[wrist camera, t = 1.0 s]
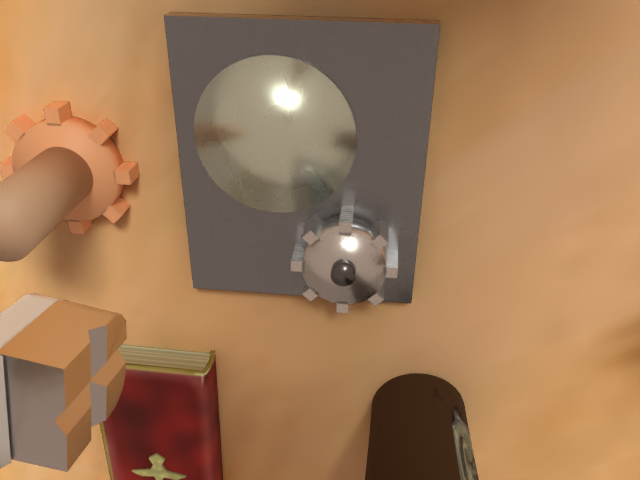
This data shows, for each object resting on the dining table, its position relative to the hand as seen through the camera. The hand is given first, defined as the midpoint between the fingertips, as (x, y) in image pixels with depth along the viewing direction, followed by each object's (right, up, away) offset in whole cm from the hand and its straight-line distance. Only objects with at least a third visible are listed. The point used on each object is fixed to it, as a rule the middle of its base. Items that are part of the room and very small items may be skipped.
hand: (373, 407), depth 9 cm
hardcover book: (-18, -17, +59) cm, 64 cm away
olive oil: (+9, -15, +54) cm, 57 cm away
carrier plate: (-2, +9, +42) cm, 43 cm away
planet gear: (-22, +9, +44) cm, 50 cm away
